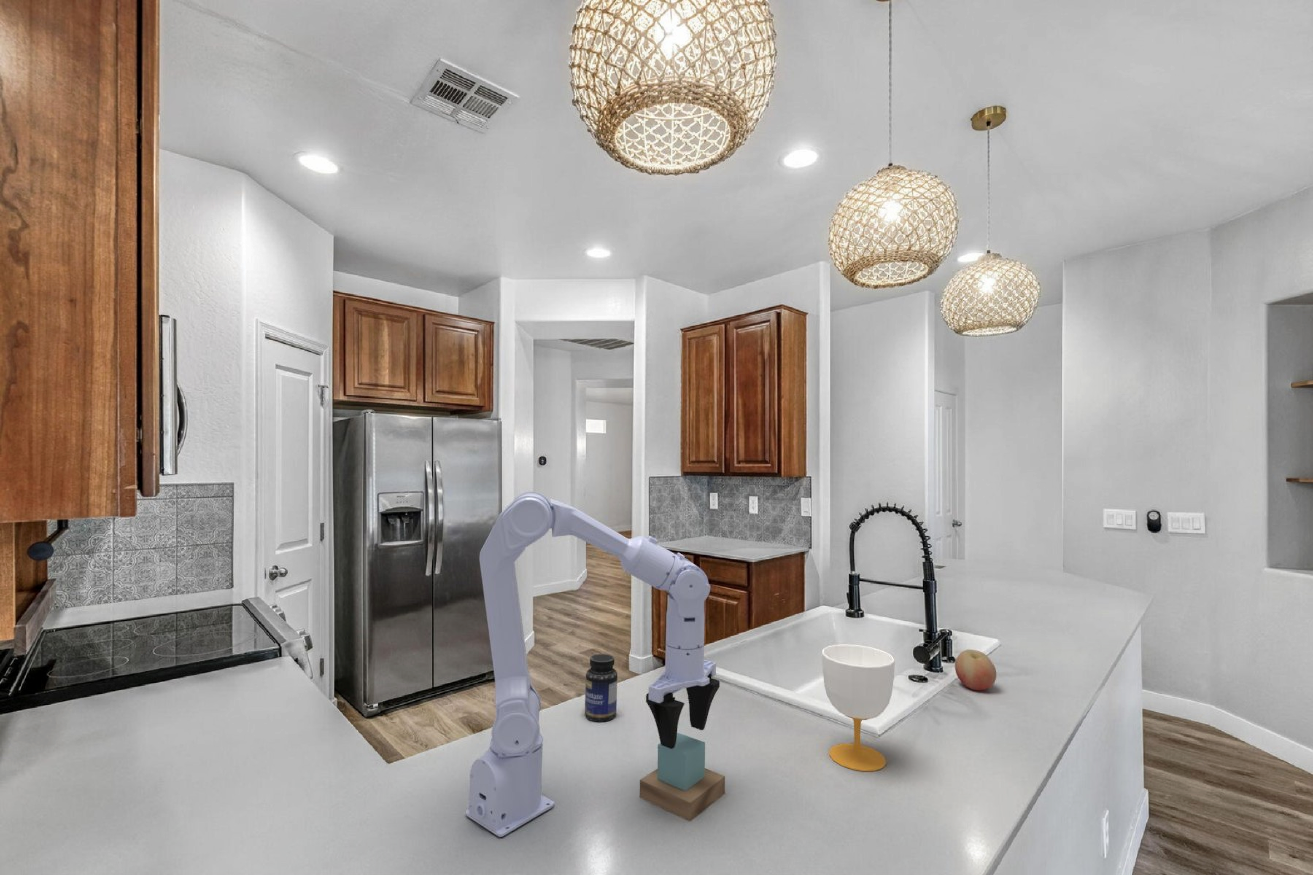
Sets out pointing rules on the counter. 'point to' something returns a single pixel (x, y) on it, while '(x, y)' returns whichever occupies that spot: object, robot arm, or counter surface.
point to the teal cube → (682, 762)
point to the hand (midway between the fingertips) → (683, 736)
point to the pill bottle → (601, 688)
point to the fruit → (975, 670)
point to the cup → (858, 696)
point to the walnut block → (683, 794)
